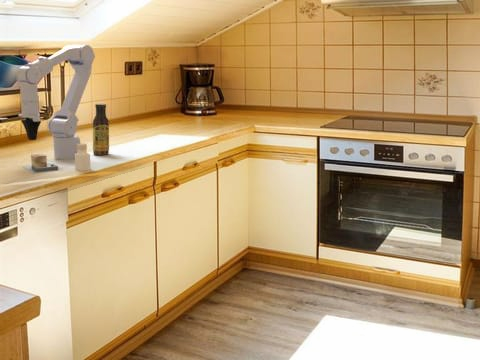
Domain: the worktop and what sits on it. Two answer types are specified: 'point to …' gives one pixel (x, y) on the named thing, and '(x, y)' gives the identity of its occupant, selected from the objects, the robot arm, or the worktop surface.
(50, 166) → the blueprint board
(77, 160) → the pepper shaker
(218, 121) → the worktop surface
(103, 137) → the sauce bottle
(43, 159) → the maple block
